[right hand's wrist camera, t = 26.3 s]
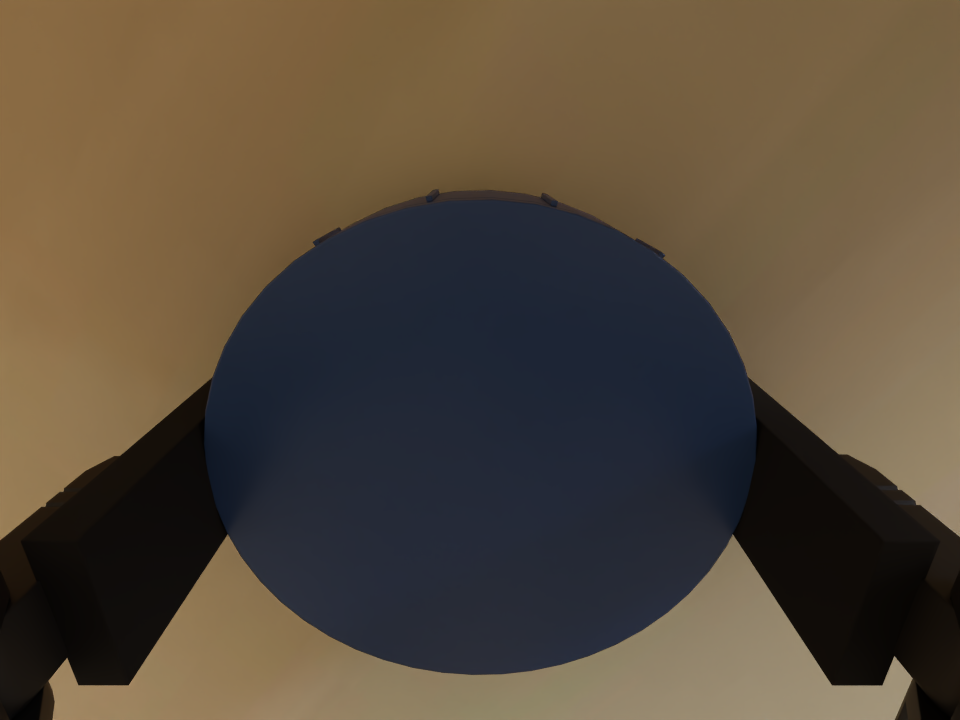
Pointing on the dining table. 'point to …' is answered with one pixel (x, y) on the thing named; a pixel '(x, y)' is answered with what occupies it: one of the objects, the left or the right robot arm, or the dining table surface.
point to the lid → (480, 434)
